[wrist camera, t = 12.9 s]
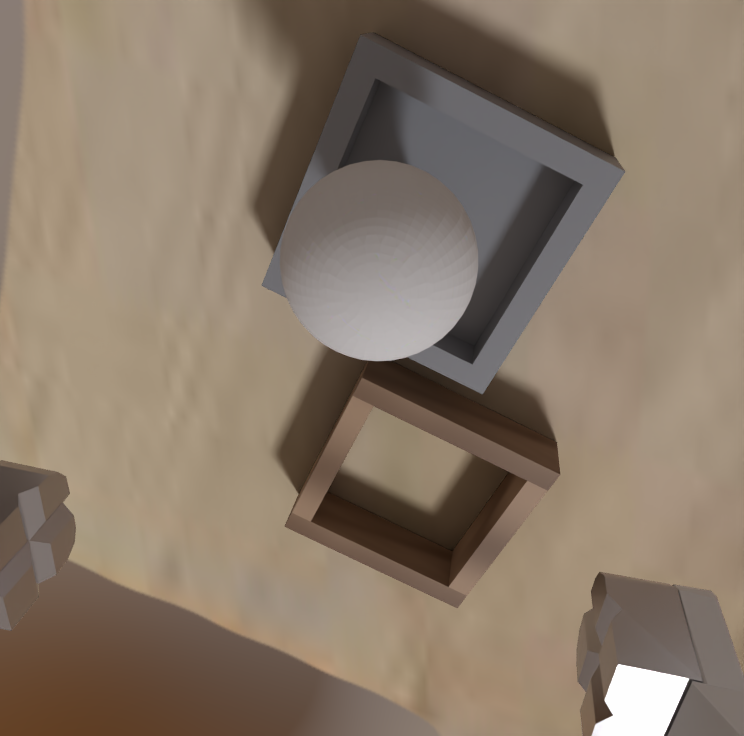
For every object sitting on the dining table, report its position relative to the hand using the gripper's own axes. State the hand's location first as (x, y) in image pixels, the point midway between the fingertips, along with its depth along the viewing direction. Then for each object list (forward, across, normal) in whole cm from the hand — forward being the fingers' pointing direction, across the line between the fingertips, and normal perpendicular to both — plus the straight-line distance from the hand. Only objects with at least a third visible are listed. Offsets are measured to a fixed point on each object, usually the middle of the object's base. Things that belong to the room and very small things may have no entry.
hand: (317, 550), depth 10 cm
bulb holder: (+20, 0, +13) cm, 23 cm away
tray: (+20, 0, 0) cm, 20 cm away
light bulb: (+19, +2, 0) cm, 19 cm away
